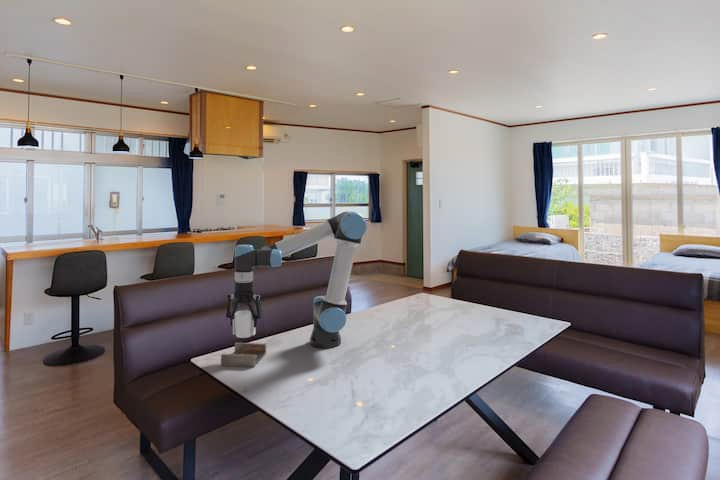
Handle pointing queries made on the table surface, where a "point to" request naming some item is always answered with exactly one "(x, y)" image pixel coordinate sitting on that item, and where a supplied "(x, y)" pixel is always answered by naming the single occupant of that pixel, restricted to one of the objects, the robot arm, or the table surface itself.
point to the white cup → (243, 324)
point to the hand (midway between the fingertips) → (244, 334)
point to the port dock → (244, 355)
